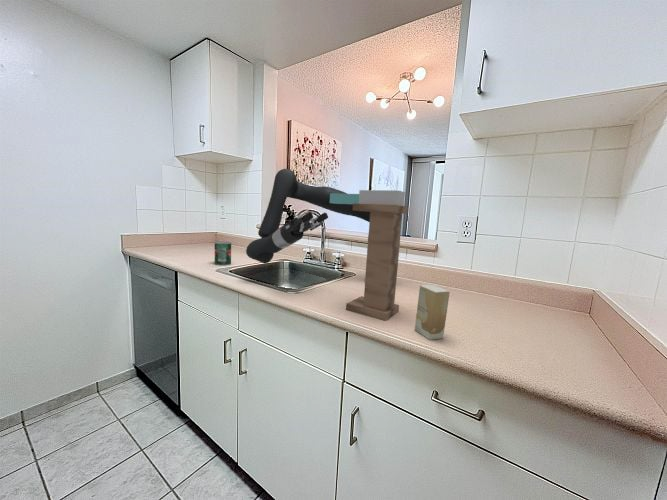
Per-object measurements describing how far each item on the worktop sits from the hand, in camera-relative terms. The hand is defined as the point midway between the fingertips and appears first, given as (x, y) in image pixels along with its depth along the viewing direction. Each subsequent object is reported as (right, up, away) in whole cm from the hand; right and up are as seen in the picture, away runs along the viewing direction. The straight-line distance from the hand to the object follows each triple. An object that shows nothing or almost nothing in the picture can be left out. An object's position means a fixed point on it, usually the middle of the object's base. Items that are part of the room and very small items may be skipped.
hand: (319, 214), depth 93 cm
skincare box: (+29, -33, -23) cm, 50 cm away
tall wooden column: (+17, -30, -8) cm, 36 cm away
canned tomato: (-51, -19, +47) cm, 72 cm away
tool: (+13, +2, -9) cm, 16 cm away
